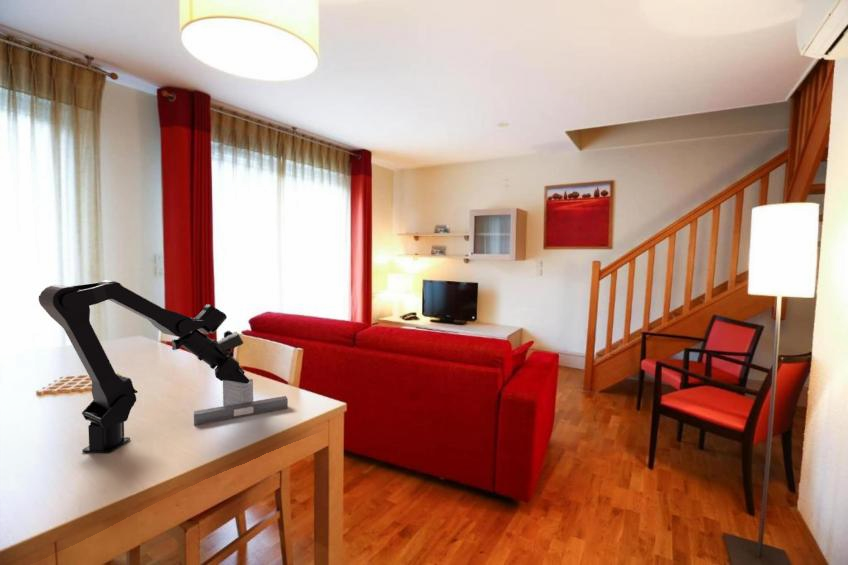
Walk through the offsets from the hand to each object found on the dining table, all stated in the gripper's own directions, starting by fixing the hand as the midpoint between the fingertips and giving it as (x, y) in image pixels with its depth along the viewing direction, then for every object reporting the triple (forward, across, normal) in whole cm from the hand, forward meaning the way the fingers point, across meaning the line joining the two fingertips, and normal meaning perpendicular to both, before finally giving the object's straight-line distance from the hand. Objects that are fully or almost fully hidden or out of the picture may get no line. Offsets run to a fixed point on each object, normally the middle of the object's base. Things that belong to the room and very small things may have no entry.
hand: (246, 377), depth 118 cm
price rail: (+4, -7, +7) cm, 11 cm away
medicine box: (+4, 0, +8) cm, 9 cm away
